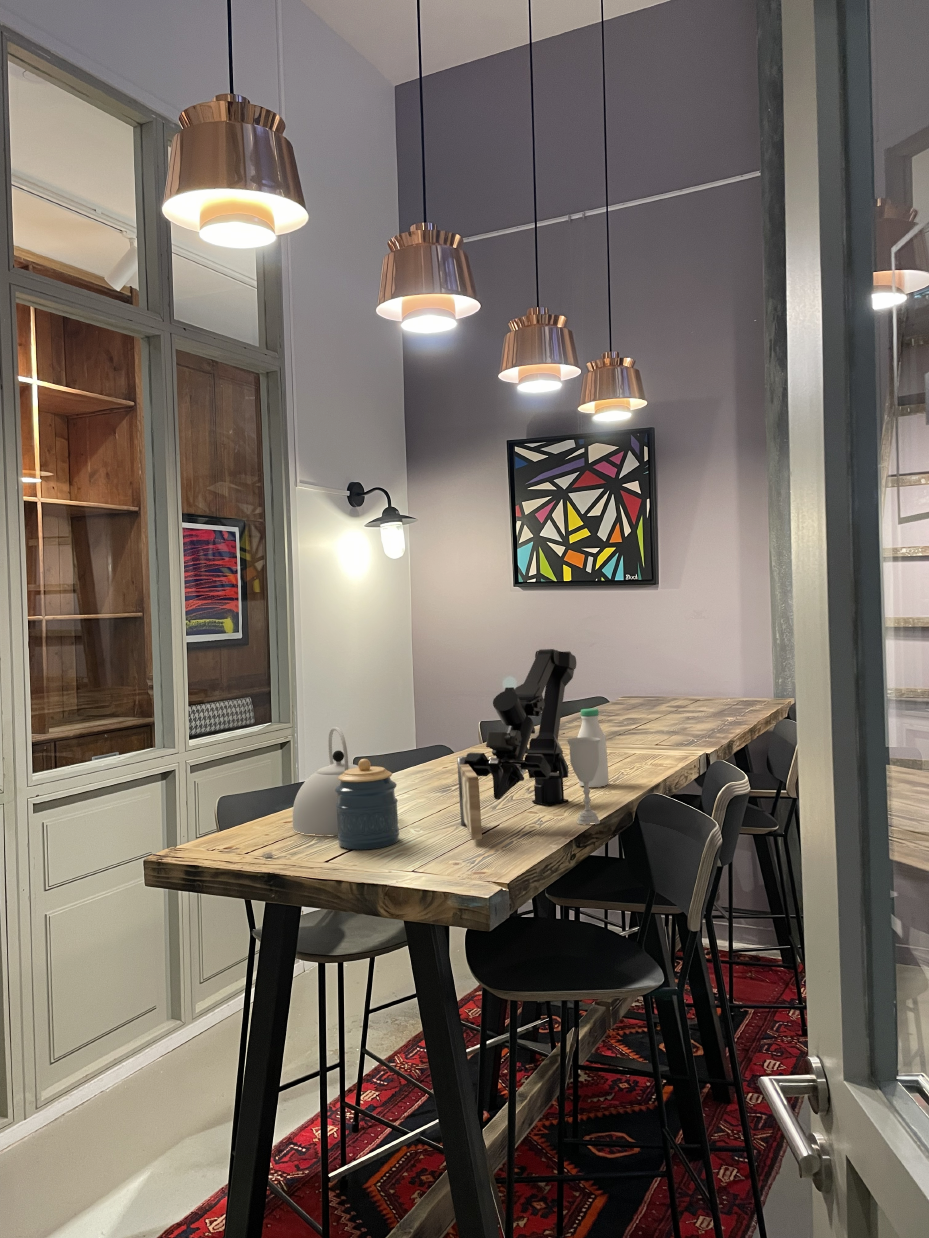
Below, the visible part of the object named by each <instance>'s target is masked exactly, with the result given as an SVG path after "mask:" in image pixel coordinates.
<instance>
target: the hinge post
mask: <svg viewBox="0 0 929 1238" xmlns="http://www.w3.org/2000/svg"><path fill="white" fill-rule="evenodd" d="M465 759H466V756H457V757H456V761H457V764H456V765H457V781H458V796H459V797H458V798H459V811H460V813H459V814H460V826H462V827H467V825H466V824H465V822H464V816H463V799H462V782H461V772H460V770H459V765H464V764H467V762H465Z"/></svg>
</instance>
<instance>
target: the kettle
mask: <svg viewBox="0 0 929 1238" xmlns="http://www.w3.org/2000/svg"><path fill="white" fill-rule="evenodd" d="M334 732H337V733H338V735H339V737H340V741H341V744H342V749H343V751H341V750H335V751H334V752H333V734H334ZM327 742H328V744H327V745H328V746H327V747H328V758H329V765H327V766H322V767H321V768H319V769H318V770H315V772H314V773H312V774H311V775H310V776H309V777H308V778H307V779H305V781H304V782H303V783H302V785H301V786H300V788H299V789H298V792H297V793H296V796H295V799H294V801H293V807H292V830H293V829H294V830H295V831H297V832H300V833H304V834H315V835H337V833H338V823H337V808H336V803H337V802H338V794H337V793H336V792H335V788H336V787H337V786H338V785H339V784H340V780H338V777H339V776H340V775H342V774H343V773H344V772H345V771H346V770H348V769H352V768H358V765H357V764H354V763H353V764H352V763H349V756H348V755H349V754H348V747H347V743H346V738H345V736H344V733H343V731H342V730H341V728H339V727H337V726H333V727H331V728H330V730H329V733H328V741H327ZM343 760H344V761H343ZM342 761H343V762H344V763H343V762H342ZM334 762H335V763H334Z"/></svg>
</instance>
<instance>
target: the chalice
mask: <svg viewBox="0 0 929 1238" xmlns="http://www.w3.org/2000/svg"><path fill="white" fill-rule="evenodd" d="M599 741H600V738H594V737H581V738H577V737H574V738H568V739H567V740H566V742H567V744H568V745H569V758H570V760H569V761H570V765H571V767H572V770H573V772H574V775H576V777H577V779H578V782H579V781H581V782H583V783H584V787H583V790H582V793H583V794H584V797H583V800H582V801H583V802H584V809H583V810H582V811H580V813H579V815H578V819H577V821H576V824H577V823H579V824H578V825H580V824H590V823H595V825H599V824H600V823H601V821H600V820H599V816H598V814H597V813H596V811H594V810H592V808H591V805H590V803H591V800H592V799H591V797H590V793H591V790H590V788H589V787H588V785H589V782H591V781H592V780H593V778H594V776H595V773H596V771H597V768H598V764H599V749H598V743H599Z"/></svg>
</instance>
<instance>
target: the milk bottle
mask: <svg viewBox="0 0 929 1238" xmlns="http://www.w3.org/2000/svg"><path fill="white" fill-rule="evenodd" d="M580 716H581V717H580V718H581V726H580V729H579V732H578V734H577V737H576V738H581V737H594V738H600V741H599V743H598V749H599V764H598V768H597V771H596V773H595V776H594V778H593V780H592V781H591V782H589V785H588V787H598V788H601V787H600V786H604V787H606V786H605V785H607V784H608V785H609V784H610V783H609V781H610V780H609V763H608V750H607V740H606V736H605V733H604V731H603V730H602V728H601V725H600V722H599V709H598V708H583V709H580ZM578 784H579V786H580V787H581V786H584V783H583V782H581V781H579V780H578ZM608 785H607V786H608Z"/></svg>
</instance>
